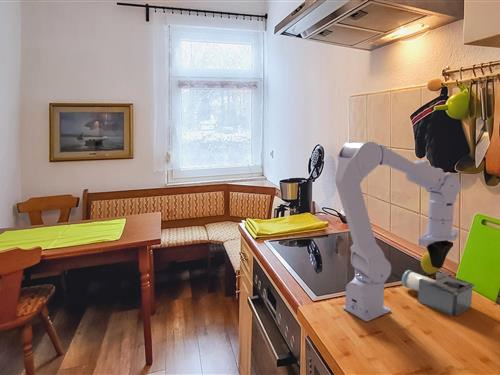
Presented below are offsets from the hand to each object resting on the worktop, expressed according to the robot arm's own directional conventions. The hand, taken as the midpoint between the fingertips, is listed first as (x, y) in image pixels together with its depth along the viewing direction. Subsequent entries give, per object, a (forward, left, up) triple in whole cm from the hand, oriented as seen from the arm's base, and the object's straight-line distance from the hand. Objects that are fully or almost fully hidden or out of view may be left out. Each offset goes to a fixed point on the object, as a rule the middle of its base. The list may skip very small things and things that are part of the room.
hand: (436, 267), depth 90 cm
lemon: (+15, +10, -10) cm, 21 cm away
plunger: (0, -4, -5) cm, 6 cm away
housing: (0, -3, -10) cm, 10 cm away
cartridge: (0, +3, -10) cm, 10 cm away
